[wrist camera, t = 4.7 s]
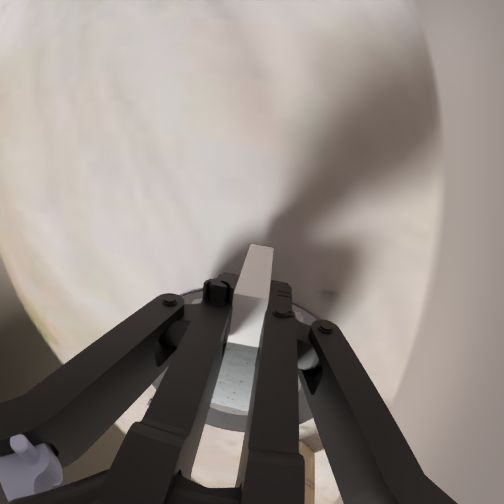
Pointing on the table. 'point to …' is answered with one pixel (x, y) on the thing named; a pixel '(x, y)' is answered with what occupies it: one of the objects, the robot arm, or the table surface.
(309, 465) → the box
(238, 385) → the ceramic mug
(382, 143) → the table surface
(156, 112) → the table surface
